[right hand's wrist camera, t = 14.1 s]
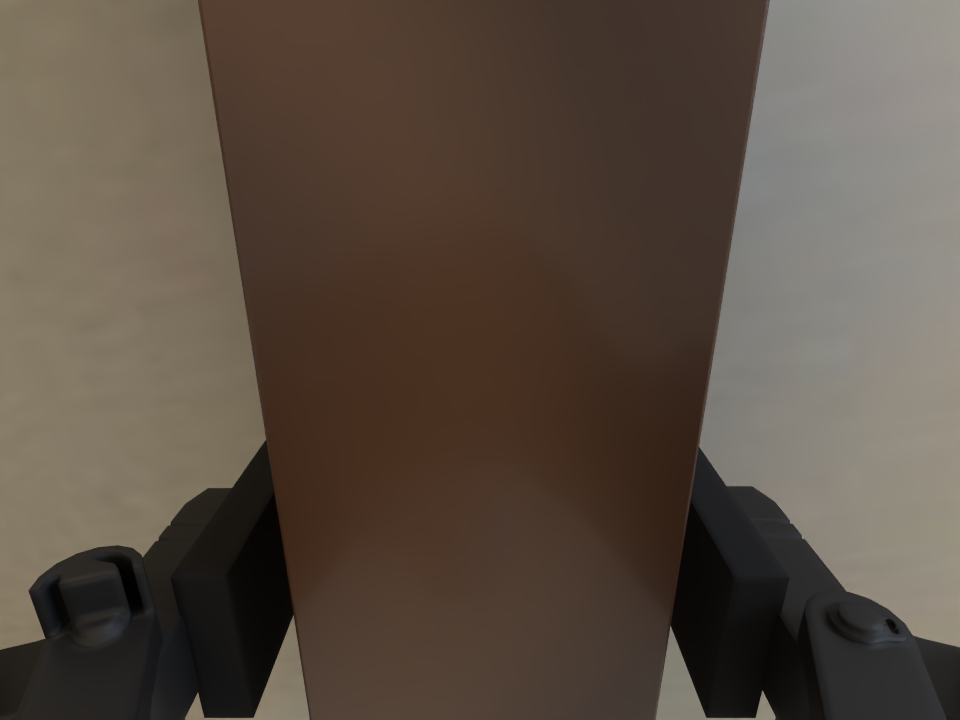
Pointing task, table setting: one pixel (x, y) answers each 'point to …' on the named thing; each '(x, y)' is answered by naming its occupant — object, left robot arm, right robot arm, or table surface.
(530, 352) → the walnut beam
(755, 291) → the table surface
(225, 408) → the table surface
